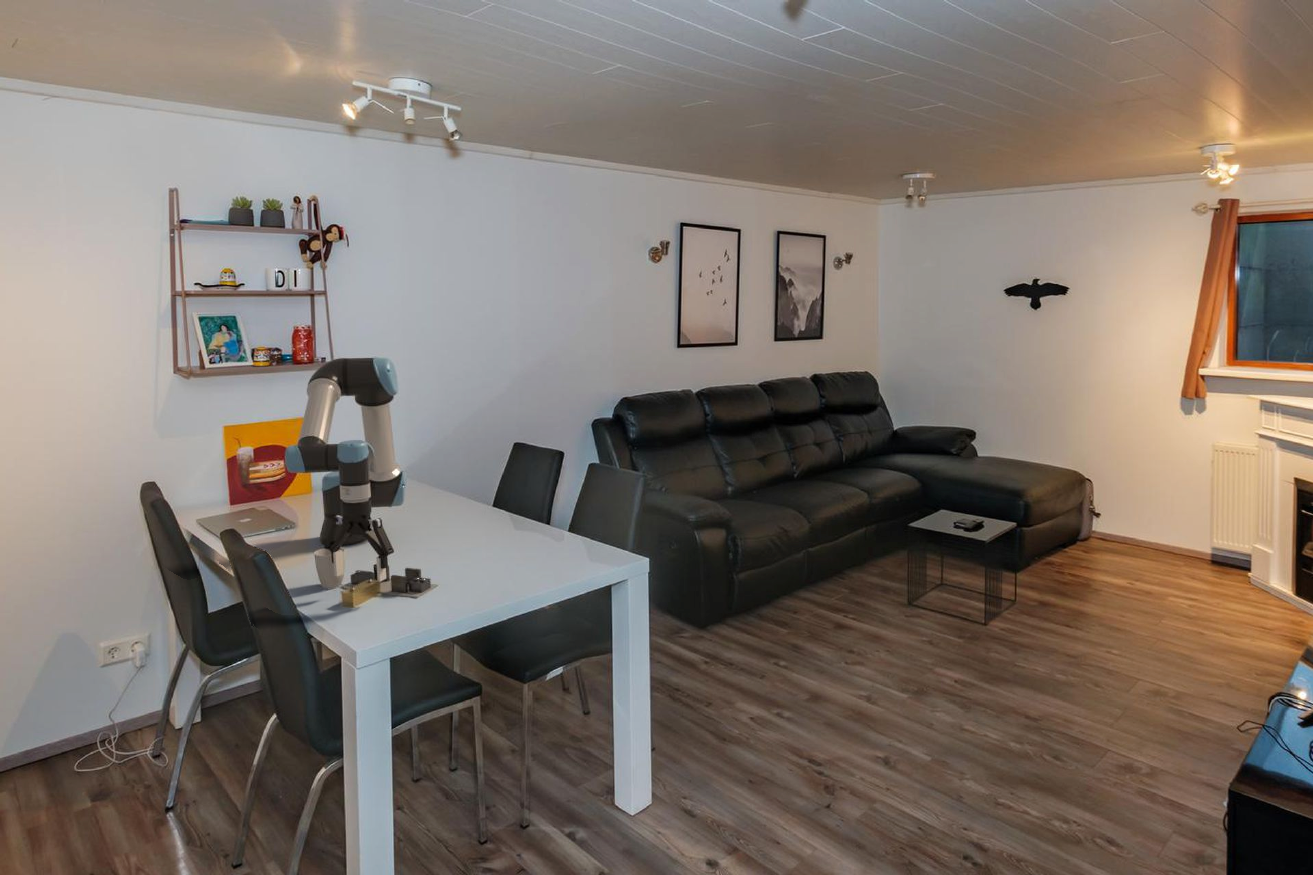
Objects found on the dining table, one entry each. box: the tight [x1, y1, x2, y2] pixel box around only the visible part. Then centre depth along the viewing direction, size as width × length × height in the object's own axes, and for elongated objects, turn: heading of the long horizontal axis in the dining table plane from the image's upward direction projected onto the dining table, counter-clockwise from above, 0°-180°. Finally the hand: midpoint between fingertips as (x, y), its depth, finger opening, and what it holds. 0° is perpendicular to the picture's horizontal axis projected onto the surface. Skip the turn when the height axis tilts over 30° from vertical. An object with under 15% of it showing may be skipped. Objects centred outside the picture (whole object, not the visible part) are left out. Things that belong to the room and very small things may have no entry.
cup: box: [313, 547, 346, 590], centre depth 232 cm, size 8×8×10 cm
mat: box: [342, 578, 439, 599], centre depth 231 cm, size 24×10×1 cm, turn 72°
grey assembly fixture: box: [350, 563, 432, 593], centre depth 231 cm, size 23×8×4 cm, turn 72°
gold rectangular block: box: [341, 579, 382, 608], centre depth 222 cm, size 11×4×5 cm, turn 160°
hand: (360, 577), depth 221 cm, fingers open, 13 cm apart
